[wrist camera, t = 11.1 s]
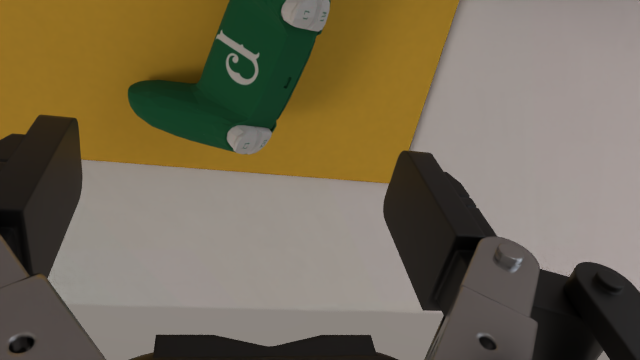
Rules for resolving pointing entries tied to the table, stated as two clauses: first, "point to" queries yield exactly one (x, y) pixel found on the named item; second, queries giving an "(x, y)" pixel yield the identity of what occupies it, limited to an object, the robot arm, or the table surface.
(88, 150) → the cloth
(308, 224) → the table surface
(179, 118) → the gaming controller
